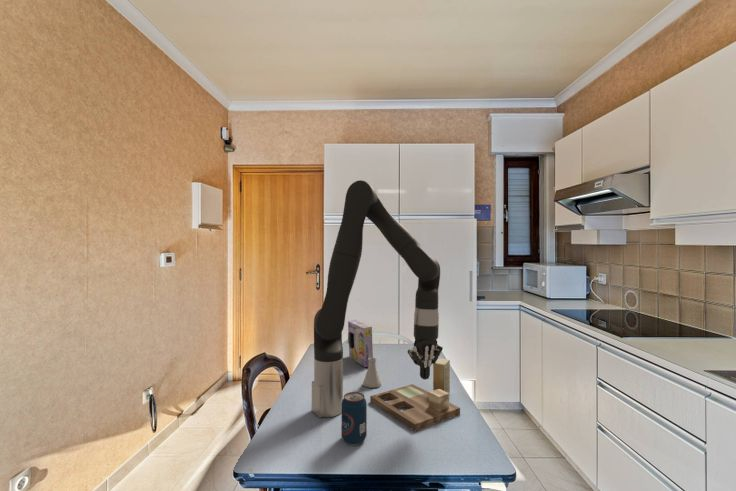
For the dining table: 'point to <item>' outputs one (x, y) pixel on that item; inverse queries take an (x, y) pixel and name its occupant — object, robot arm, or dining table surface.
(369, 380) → the flask
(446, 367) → the skincare box
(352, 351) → the cake pan box
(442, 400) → the birch block
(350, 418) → the soda can
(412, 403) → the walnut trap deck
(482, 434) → the dining table surface
